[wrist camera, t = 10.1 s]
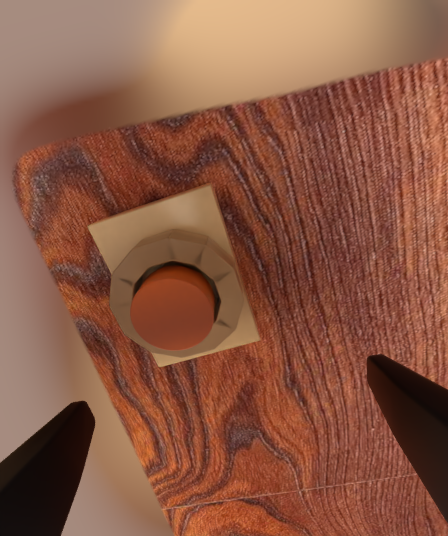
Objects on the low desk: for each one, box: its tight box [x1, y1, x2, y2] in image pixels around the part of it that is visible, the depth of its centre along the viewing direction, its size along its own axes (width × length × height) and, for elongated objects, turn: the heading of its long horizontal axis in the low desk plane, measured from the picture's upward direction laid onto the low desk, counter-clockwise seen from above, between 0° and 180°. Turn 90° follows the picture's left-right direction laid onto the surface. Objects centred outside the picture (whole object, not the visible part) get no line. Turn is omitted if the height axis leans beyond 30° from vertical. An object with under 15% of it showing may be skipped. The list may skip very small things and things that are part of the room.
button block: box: [87, 182, 260, 367], centre depth 16 cm, size 10×7×4 cm
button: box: [130, 265, 215, 351], centre depth 14 cm, size 4×4×2 cm
